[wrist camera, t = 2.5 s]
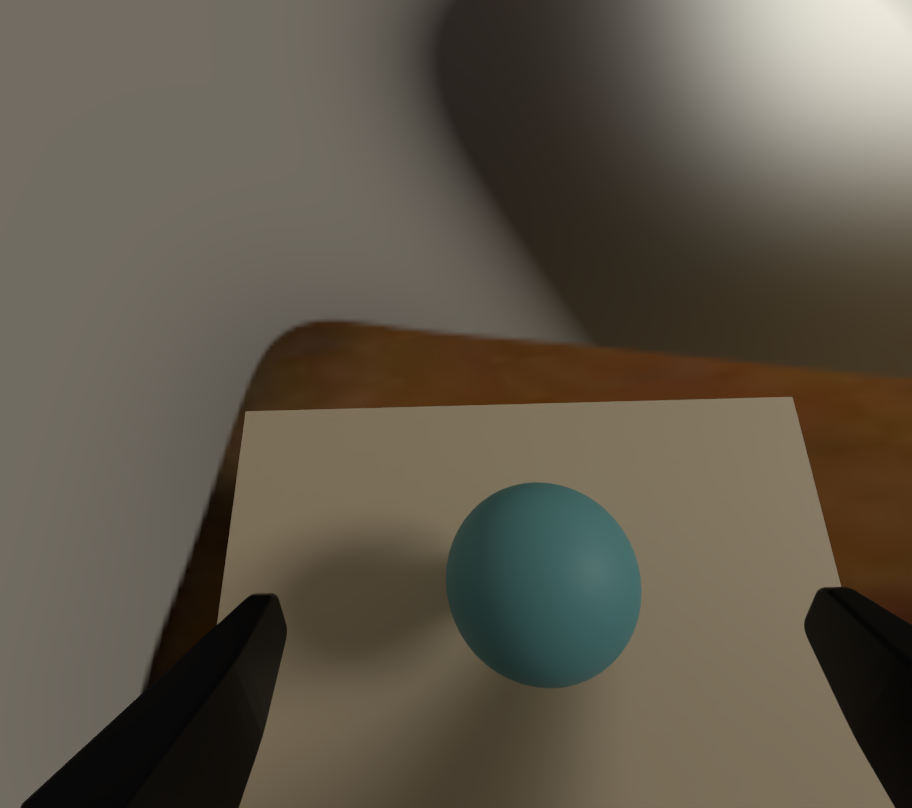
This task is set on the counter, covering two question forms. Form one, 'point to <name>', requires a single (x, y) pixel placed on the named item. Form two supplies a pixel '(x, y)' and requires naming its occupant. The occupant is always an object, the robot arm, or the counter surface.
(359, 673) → the carton lid
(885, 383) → the counter surface
